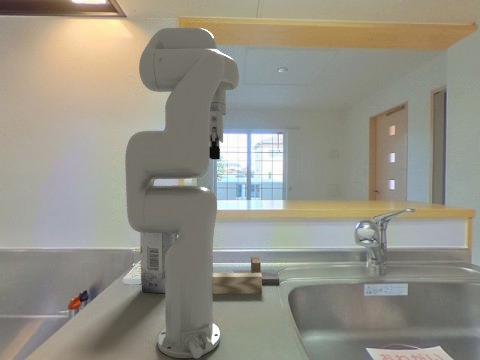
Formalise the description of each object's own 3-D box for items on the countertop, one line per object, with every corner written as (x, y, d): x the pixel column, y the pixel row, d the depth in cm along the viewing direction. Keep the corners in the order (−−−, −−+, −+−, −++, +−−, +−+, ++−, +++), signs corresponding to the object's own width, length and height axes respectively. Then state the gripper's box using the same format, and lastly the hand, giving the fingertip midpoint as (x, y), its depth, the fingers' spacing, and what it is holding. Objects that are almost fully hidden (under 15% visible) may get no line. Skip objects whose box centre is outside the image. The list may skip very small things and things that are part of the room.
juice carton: (179, 280, 92) (179, 194, 91) (168, 295, 82) (167, 197, 81) (152, 279, 93) (151, 194, 92) (137, 293, 83) (136, 197, 82)
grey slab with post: (279, 283, 90) (279, 262, 90) (233, 284, 90) (233, 262, 89) (275, 274, 98) (275, 254, 98) (233, 274, 98) (233, 255, 97)
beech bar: (260, 289, 86) (260, 272, 86) (261, 294, 83) (261, 276, 83) (192, 290, 86) (192, 273, 86) (190, 294, 83) (190, 277, 83)
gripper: (225, 105, 95) (225, 158, 96) (226, 114, 112) (225, 159, 113) (201, 104, 95) (202, 158, 96) (206, 114, 112) (206, 159, 113)
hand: (215, 158), depth 104 cm, fingers open, 9 cm apart
